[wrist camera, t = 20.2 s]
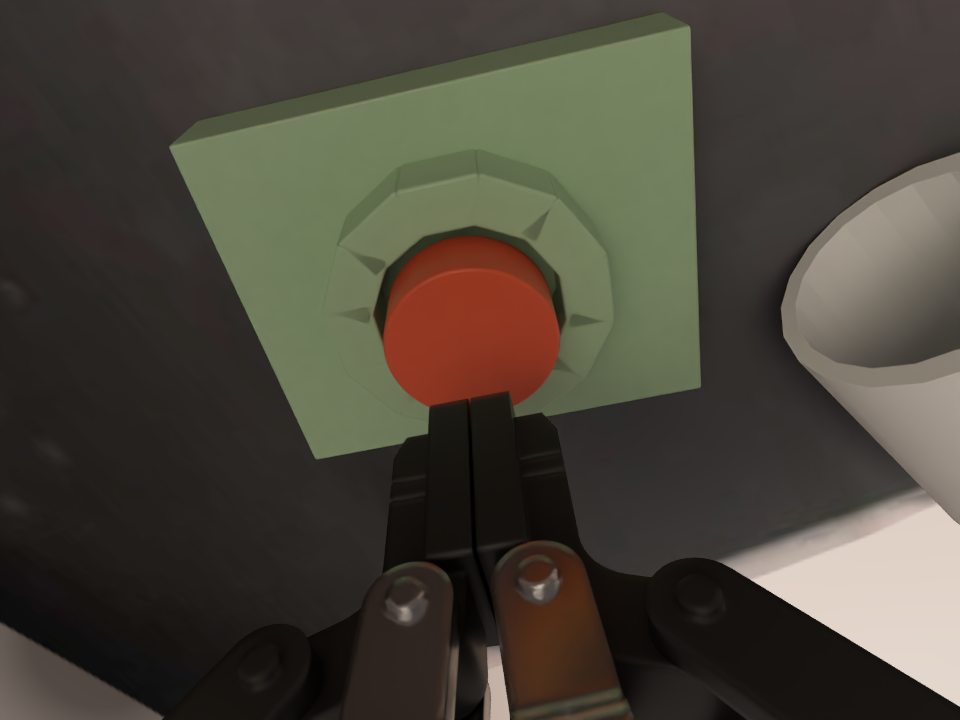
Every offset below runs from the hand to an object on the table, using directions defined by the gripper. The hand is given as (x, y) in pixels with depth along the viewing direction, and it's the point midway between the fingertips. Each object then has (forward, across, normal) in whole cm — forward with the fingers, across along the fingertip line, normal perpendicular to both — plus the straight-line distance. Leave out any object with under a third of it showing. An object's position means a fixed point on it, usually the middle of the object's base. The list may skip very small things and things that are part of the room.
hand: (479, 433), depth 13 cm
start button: (+5, 0, 0) cm, 5 cm away
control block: (+8, 0, 0) cm, 8 cm away
